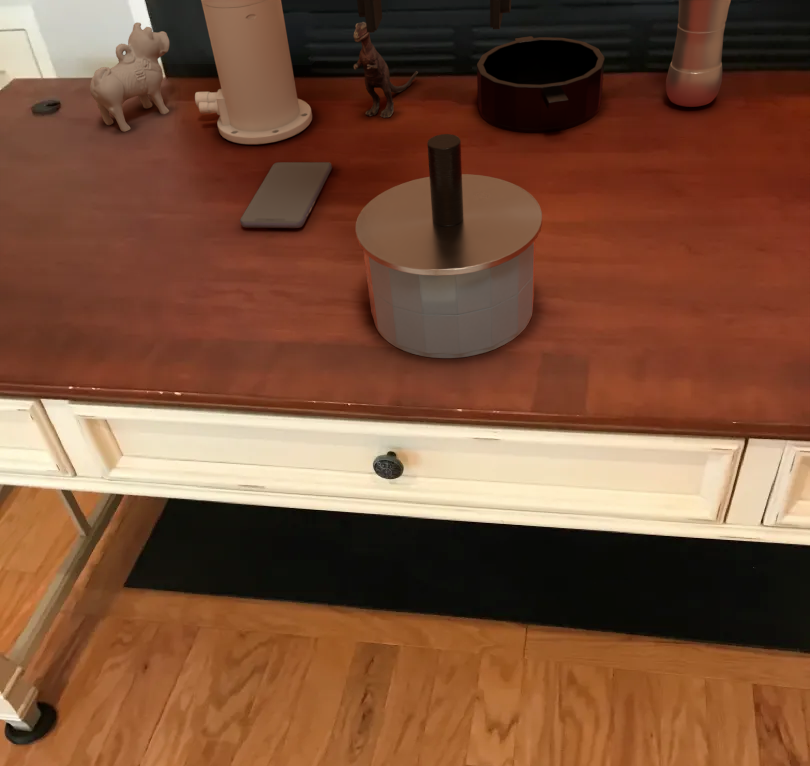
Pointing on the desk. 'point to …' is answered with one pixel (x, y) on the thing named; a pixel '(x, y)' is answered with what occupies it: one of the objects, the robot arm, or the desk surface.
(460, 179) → the lid
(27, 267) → the desk surface
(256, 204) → the smartphone
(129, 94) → the dog figurine
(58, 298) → the desk surface
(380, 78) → the dinosaur model
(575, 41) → the pan
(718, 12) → the plastic bottle
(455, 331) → the pot
